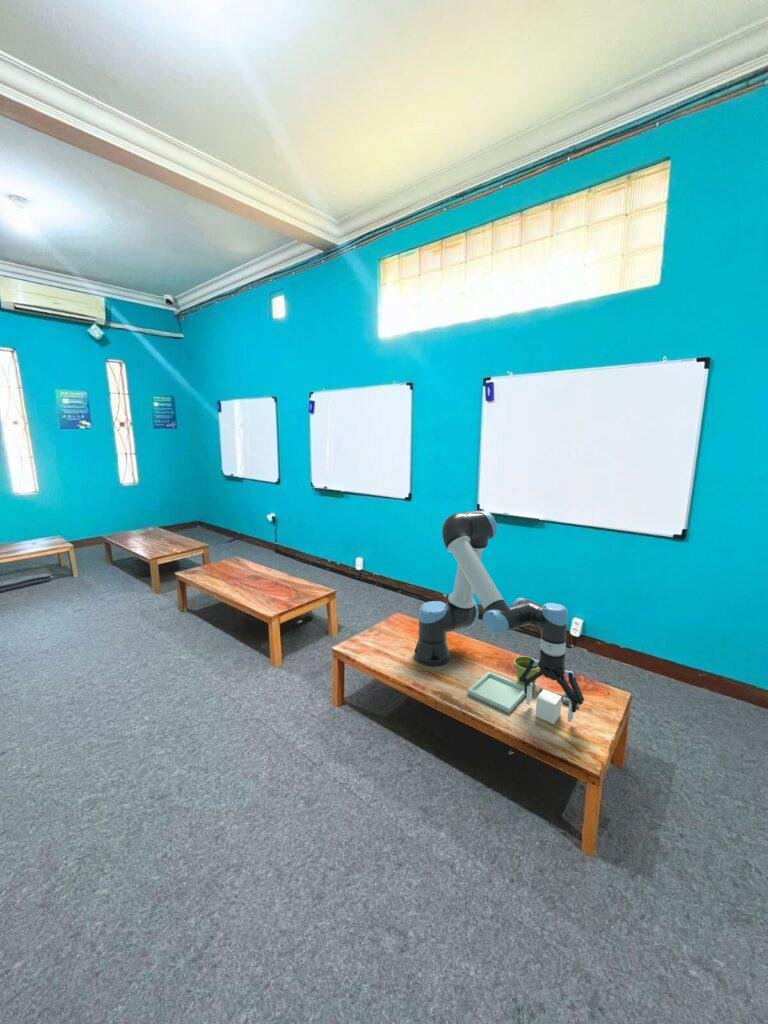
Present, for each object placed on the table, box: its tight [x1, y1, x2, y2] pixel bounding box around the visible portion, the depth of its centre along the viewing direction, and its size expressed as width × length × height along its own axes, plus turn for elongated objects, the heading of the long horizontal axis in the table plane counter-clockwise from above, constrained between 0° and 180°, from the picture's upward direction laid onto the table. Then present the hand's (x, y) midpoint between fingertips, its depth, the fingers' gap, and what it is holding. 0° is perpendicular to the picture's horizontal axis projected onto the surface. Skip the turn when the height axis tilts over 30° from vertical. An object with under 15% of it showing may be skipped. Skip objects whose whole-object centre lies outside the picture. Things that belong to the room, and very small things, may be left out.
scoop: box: [538, 688, 580, 709], centre depth 143 cm, size 13×4×2 cm, turn 58°
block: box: [535, 688, 563, 725], centre depth 133 cm, size 6×6×7 cm
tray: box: [467, 671, 527, 715], centre depth 146 cm, size 16×16×2 cm
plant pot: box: [513, 655, 540, 688], centre depth 151 cm, size 9×9×9 cm
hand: (548, 710), depth 133 cm, fingers open, 13 cm apart
